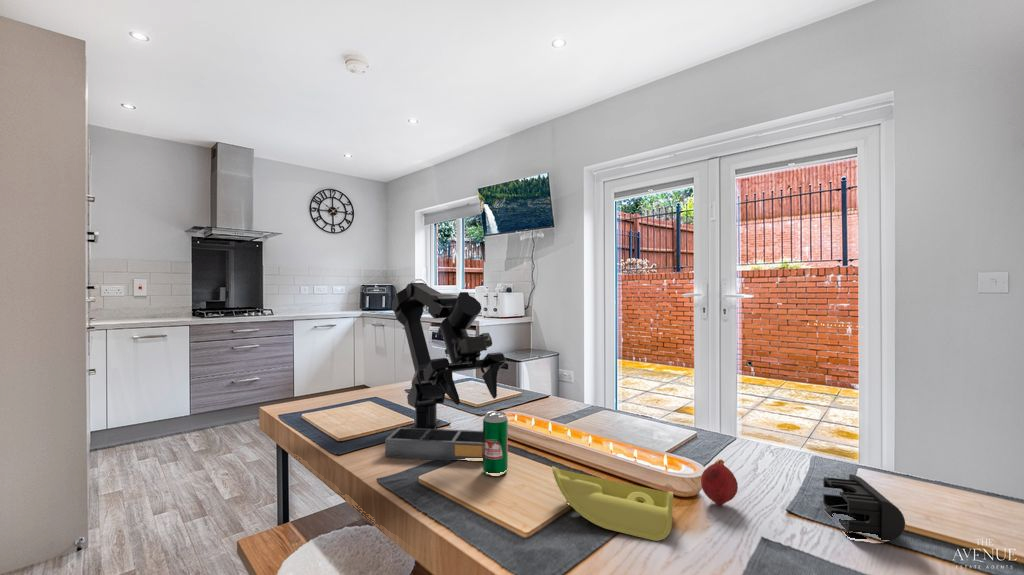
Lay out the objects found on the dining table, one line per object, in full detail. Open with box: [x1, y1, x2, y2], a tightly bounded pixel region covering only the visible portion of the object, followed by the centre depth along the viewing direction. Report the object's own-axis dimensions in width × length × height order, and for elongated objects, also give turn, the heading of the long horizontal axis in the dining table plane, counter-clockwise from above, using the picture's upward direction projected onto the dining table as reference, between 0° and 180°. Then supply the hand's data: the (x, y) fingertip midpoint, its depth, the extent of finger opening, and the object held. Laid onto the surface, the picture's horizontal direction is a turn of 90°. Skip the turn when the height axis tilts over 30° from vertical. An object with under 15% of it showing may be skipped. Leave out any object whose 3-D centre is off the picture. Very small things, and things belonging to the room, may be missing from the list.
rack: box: [384, 427, 483, 461], centre depth 102 cm, size 8×23×4 cm, turn 83°
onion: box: [700, 458, 739, 506], centre depth 79 cm, size 6×6×8 cm
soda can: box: [482, 410, 509, 473], centre depth 92 cm, size 5×5×12 cm
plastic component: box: [551, 465, 674, 542], centre depth 76 cm, size 20×7×10 cm
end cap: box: [822, 473, 906, 541], centre depth 71 cm, size 10×7×7 cm
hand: (477, 400), depth 98 cm, fingers open, 9 cm apart
